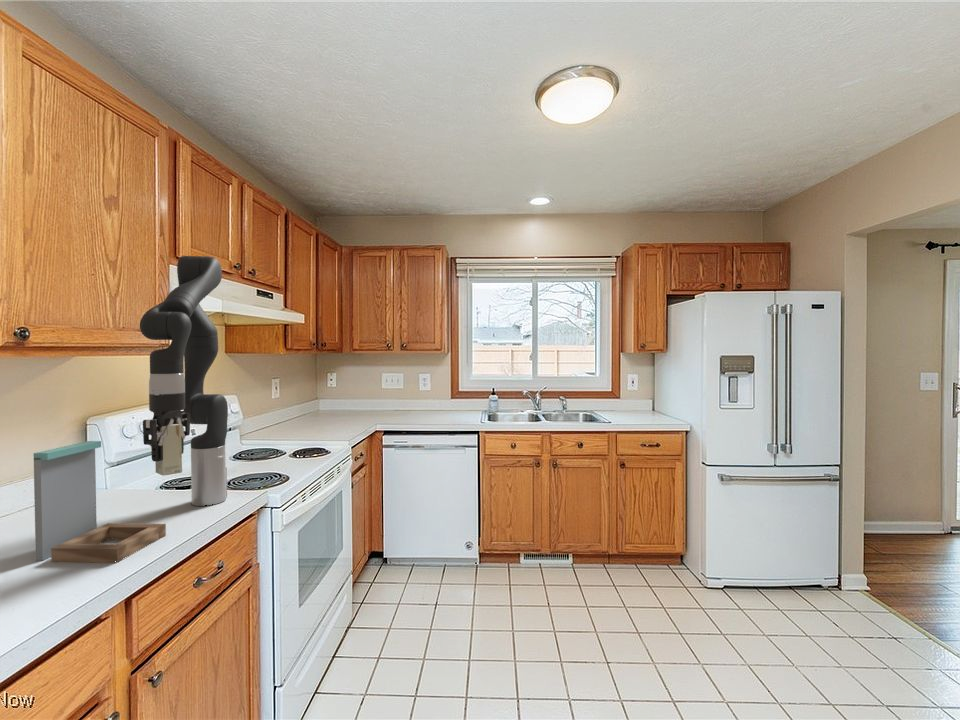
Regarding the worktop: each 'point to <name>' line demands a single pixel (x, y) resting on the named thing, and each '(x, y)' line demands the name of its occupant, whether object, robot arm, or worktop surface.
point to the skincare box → (171, 451)
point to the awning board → (64, 495)
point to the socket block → (93, 551)
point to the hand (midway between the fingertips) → (168, 457)
